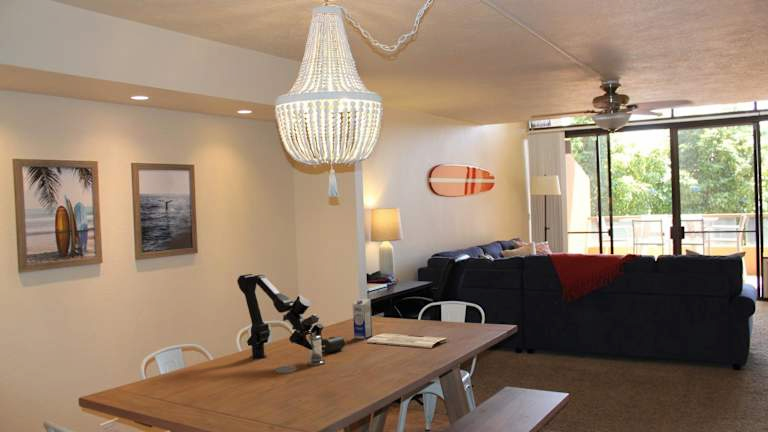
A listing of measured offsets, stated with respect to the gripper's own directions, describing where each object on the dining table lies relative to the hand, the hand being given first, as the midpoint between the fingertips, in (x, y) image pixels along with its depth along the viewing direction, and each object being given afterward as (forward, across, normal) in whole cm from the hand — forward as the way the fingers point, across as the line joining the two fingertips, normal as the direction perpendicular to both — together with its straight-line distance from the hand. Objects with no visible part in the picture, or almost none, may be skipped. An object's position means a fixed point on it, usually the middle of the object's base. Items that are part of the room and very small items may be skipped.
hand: (318, 347), depth 298 cm
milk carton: (-4, +54, +14) cm, 56 cm away
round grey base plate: (+4, 0, +6) cm, 7 cm away
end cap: (-1, +22, +11) cm, 25 cm away
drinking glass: (+2, 0, +4) cm, 4 cm away
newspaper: (+16, +52, -5) cm, 54 cm away
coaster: (+1, -16, +9) cm, 18 cm away
